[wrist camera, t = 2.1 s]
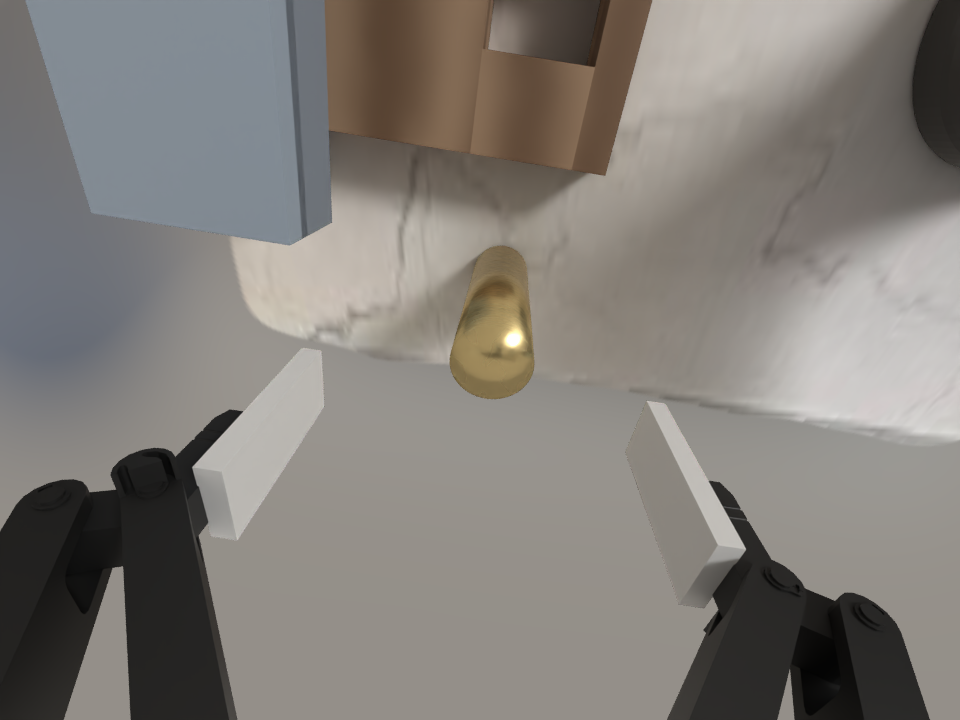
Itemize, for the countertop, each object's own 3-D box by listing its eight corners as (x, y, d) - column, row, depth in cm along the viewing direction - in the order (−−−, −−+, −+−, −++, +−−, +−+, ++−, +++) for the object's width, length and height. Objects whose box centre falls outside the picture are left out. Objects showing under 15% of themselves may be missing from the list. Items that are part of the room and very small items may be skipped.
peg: (534, 286, 32) (545, 384, 20) (486, 304, 33) (470, 408, 21) (515, 237, 31) (516, 313, 18) (465, 257, 32) (435, 342, 20)
